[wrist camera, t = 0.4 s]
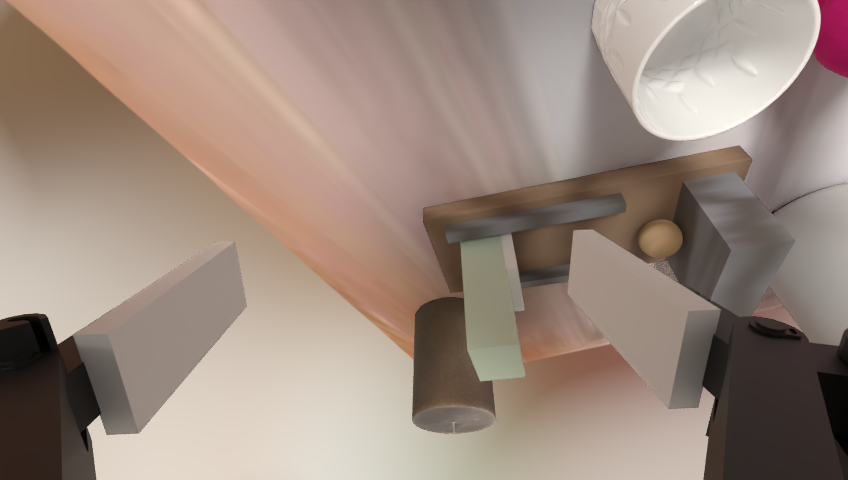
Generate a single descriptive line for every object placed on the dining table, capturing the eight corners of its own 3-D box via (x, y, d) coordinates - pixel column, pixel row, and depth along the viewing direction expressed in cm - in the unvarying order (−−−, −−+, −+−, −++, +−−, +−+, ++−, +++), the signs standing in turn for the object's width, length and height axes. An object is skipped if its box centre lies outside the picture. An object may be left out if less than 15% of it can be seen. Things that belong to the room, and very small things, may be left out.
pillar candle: (409, 300, 51) (402, 420, 41) (484, 294, 50) (497, 417, 39) (421, 336, 58) (419, 447, 48) (488, 332, 57) (499, 445, 46)
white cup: (740, -64, 23) (870, -18, 16) (671, 69, 29) (745, 145, 22) (609, -74, 23) (684, -32, 16) (566, 62, 29) (607, 137, 22)
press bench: (450, 279, 48) (453, 355, 41) (423, 208, 39) (421, 289, 32) (706, 239, 42) (760, 320, 35) (739, 145, 33) (818, 228, 26)
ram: (472, 278, 44) (481, 383, 35) (459, 236, 39) (466, 347, 30) (517, 271, 43) (537, 378, 34) (509, 227, 38) (531, 339, 29)
